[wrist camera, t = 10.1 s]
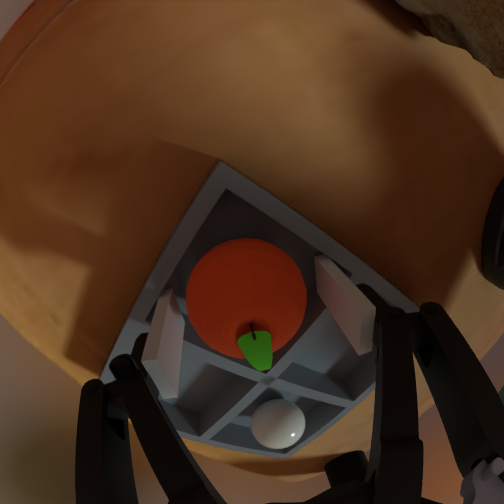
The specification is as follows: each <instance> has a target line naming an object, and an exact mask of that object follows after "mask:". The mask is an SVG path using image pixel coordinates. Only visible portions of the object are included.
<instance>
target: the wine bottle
mask: <svg viewBox="0 0 504 504" xmlns="http://www.w3.org/2000/svg"><path fill="white" fill-rule="evenodd" d="M368 464H369V462H368V460H367V458H366V456H365V454H364V451H354V452H350V453H347V454H344V455H342V456H339V457H337V458H335V459H334V460H332V461H330V462H329V463H328V464H327V465H326V466H325V468H324V469H325V472H326V474H327V477H328V480H329V483H330V486H331V488H332V487H335V486H338V485H341V484H344V483H347V482H350V481H352V480H355V479H358V480H359V483H364V481H365V477H366V473H367V469H368Z"/></svg>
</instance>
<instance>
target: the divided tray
mask: <svg viewBox="0 0 504 504" xmlns="http://www.w3.org/2000/svg"><path fill="white" fill-rule="evenodd" d="M241 238H251V239H261V240H263V241H266V242H269V243H271V244H274V245H276V246H277V247H278V248H280V249H281V250H282V251H284V252H285V253H286V254H287V255H289V256H290V257H291V258H292V260H293V261H294V262H295V264H296V265H297V266H298V268H299V269H300V272H301V275H302V278H303V280H304V284H305V287H306V290H307V305H306V310H305V314H304V317H303V321H302V324H301V326H300V327H299V329H298V330H297V332H296V334H295V335H294V336H293V337H292V338H291V339H290V340H289V341H288V342H287V343H286V344H285V345H284V346H283V347H281V348H280V349H278V350H277V351H275V352H273V353H272V354H273V358H272V365H271V368H270V369H267V370H263V371H259V370H257V369H255V368H254V367H253V366H252V365H251V364H250V363H249V362H248V360H247V359H241V358H235V357H231V356H227V355H225V354H222V353H220V352H218V351H216V350H214V349H212V348H211V347H210V346H208V345H207V344H206V343H205V342H204V341H203V340H202V339H201V338H200V336H199V335H198V333H197V332H196V330H195V329H194V327H193V326H192V324H191V323H190V320H189V317H188V313H187V309H186V286H187V283H188V280H189V278H190V275H191V272H192V270H193V269H194V267H195V265H196V264H197V263H198V261H199V260H200V259H201V257H202V256H203V255H204V254H205V253H207V252H208V251H209V250H211V249H212V248H213V247H215V246H217V245H219V244H221V243H224V242H226V241H229V240H234V239H241ZM323 254H325V255H327V257H328V258H329V259H330V260H331V261H332V262H333V263H334V264H335V265H336V266H337V267H338V268H339V269H340V270H341V271H342V272H343V273H344V274H345V275H346V276H347V277H348V278H349V279H350V280H351V281H352V282H353V283H354V285H358V284H361V283H364V284H367V285H369V286H371V287H372V288H373V289H374V290H375V292H377V293H378V294H379V295H380V296H381V297H382V298H383V299H384V300H385V301H386V302H387V303H388V304H389V305H390V306H391V307H399V308H401V309H403V310H404V311H405V313H413V312H419V309H420V307H419V306H417V305H416V304H415V303H414V302H413V301H412V300H411V299H410V298H408V297H407V296H406V295H405V294H404V293H402V292H401V291H400V290H399V289H398V288H396V287H395V286H394V285H393V284H392V283H390V282H389V281H388V280H387V279H386V278H384V277H383V276H382V275H381V274H379V273H378V272H377V271H376V270H374V269H373V268H372V267H371V266H369V265H368V264H367V263H366V262H364V261H363V260H362V259H360V258H359V257H358V256H357V255H355V254H354V253H353V252H351V251H350V250H349V249H348V248H346V247H345V246H344V245H342V244H341V243H340V242H338V241H337V240H336V239H334V238H333V237H332V236H330V235H329V234H328V233H326V232H325V231H324V230H322V229H321V228H320V227H318V226H317V225H316V224H314V223H313V222H311V221H310V220H309V219H307V218H306V217H305V216H303V215H302V214H300V213H299V212H298V211H296V210H295V209H293V208H292V207H290V206H289V205H288V204H286V203H285V202H283V201H282V200H281V199H279V198H278V197H276V196H275V195H273V194H272V193H270V192H269V191H267V190H266V189H265V188H263V187H262V186H260V185H259V184H257V183H256V182H254V181H253V180H251V179H250V178H248V177H247V176H245V175H244V174H242V173H241V172H239V171H238V170H236V169H234V168H233V167H231V166H230V165H228V164H227V163H225V162H224V161H222V160H220V159H218V161H217V162H216V164H215V165H214V167H213V168H212V170H211V171H210V173H209V174H208V176H207V177H206V179H205V180H204V182H203V183H202V185H201V187H200V188H199V190H198V191H197V193H196V194H195V196H194V198H193V199H192V201H191V202H190V204H189V206H188V207H187V209H186V210H185V212H184V214H183V215H182V217H181V219H180V220H179V222H178V224H177V225H176V227H175V229H174V230H173V232H172V234H171V235H170V237H169V239H168V240H167V242H166V244H165V246H164V247H163V249H162V251H161V253H160V254H159V256H158V258H157V260H156V262H155V263H154V265H153V267H152V269H151V271H150V273H149V274H148V276H147V278H146V280H145V282H144V284H143V286H142V287H141V289H140V291H139V293H138V295H137V297H136V299H135V301H134V303H133V305H132V307H131V309H130V311H129V313H128V315H127V317H126V319H125V321H124V323H123V325H122V327H121V329H120V331H119V333H118V335H117V337H116V340H115V342H114V344H113V346H112V348H111V350H110V353H109V355H108V357H107V359H106V362H105V364H104V366H103V368H102V371H101V373H100V376H99V379H100V380H101V381H102V382H103V383H104V384H107V383H110V382H113V381H115V380H116V379H115V377H114V376H113V374H112V373H111V371H110V369H109V363H110V362H111V360H112V359H113V358H115V357H116V356H118V355H121V354H130V355H131V352H132V349H133V347H134V343H135V340H136V338H137V337H138V336H139V335H140V334H141V333H147V332H149V329H150V326H151V322H152V319H153V316H154V312H155V309H156V306H157V302H158V299H159V296H160V293H161V291H162V290H165V289H169V288H173V291H174V294H175V297H176V300H177V302H178V305H179V308H180V311H181V313H182V316H183V319H184V322H185V326H184V335H183V344H182V353H181V364H180V374H179V386H178V398H169V399H163V397H162V396H161V394H160V393H159V398H158V399H159V401H160V403H161V404H162V406H163V408H164V410H165V412H166V413H167V415H168V417H169V419H170V420H171V422H172V424H173V426H174V427H175V429H176V431H177V432H178V434H179V436H180V437H183V438H186V439H190V440H193V441H197V442H201V443H205V444H209V445H213V446H217V447H221V448H226V449H230V450H235V451H240V452H245V453H251V454H257V455H263V456H270V457H278V458H288V457H289V456H291V455H292V454H294V453H295V452H297V451H298V450H300V449H301V448H303V447H304V446H306V445H307V444H308V443H310V442H311V441H313V440H314V439H315V438H317V437H318V436H319V435H321V434H322V433H323V432H325V431H326V430H327V429H329V428H330V427H331V426H332V425H334V424H335V423H336V422H337V421H339V420H340V419H341V418H342V417H344V416H345V415H346V414H347V413H348V412H350V411H351V410H352V409H353V408H354V407H355V406H357V405H358V404H359V403H360V402H361V401H362V400H363V399H364V398H366V397H367V396H368V395H369V394H370V393H371V392H372V391H373V390H374V389H375V385H376V364H375V357H376V350H377V347H376V346H375V345H374V343H373V346H372V351H370V352H368V353H365V354H362V355H358V354H357V352H356V351H355V349H354V348H353V346H352V345H351V343H350V341H349V340H348V338H347V337H346V335H345V334H344V332H343V331H342V329H341V328H340V326H339V325H338V323H337V322H336V320H335V319H334V317H333V316H332V314H331V313H330V311H329V310H328V308H327V307H326V305H325V304H324V302H323V301H322V299H321V298H320V296H319V295H318V294H317V285H316V273H315V262H314V256H318V255H323ZM272 399H285V400H288V401H291V402H293V403H295V404H296V405H297V406H298V407H299V408H300V409H301V410H302V412H303V414H304V417H305V430H304V432H303V435H302V436H301V438H300V439H299V440H298V441H297V442H296V443H294V444H293V445H291V446H289V447H286V448H282V449H272V448H268V447H265V446H263V445H262V444H260V443H259V442H258V441H257V440H256V439H255V438H254V436H253V434H252V432H251V428H250V422H251V417H252V415H253V413H254V411H255V410H256V409H257V408H258V407H259V406H260V405H261V404H263V403H264V402H266V401H269V400H272ZM129 419H130V418H129Z"/></svg>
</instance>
